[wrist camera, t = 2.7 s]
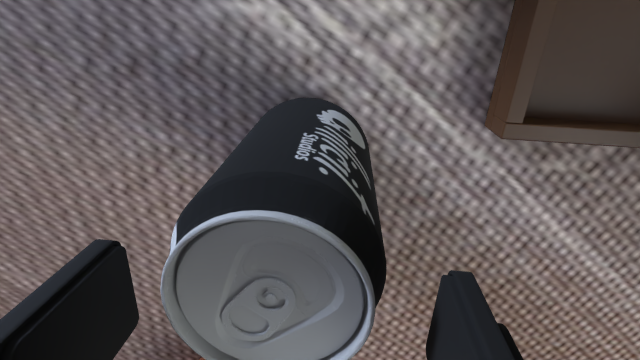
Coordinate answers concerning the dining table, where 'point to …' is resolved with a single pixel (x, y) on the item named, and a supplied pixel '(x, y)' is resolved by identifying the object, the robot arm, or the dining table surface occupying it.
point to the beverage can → (281, 244)
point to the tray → (570, 73)
